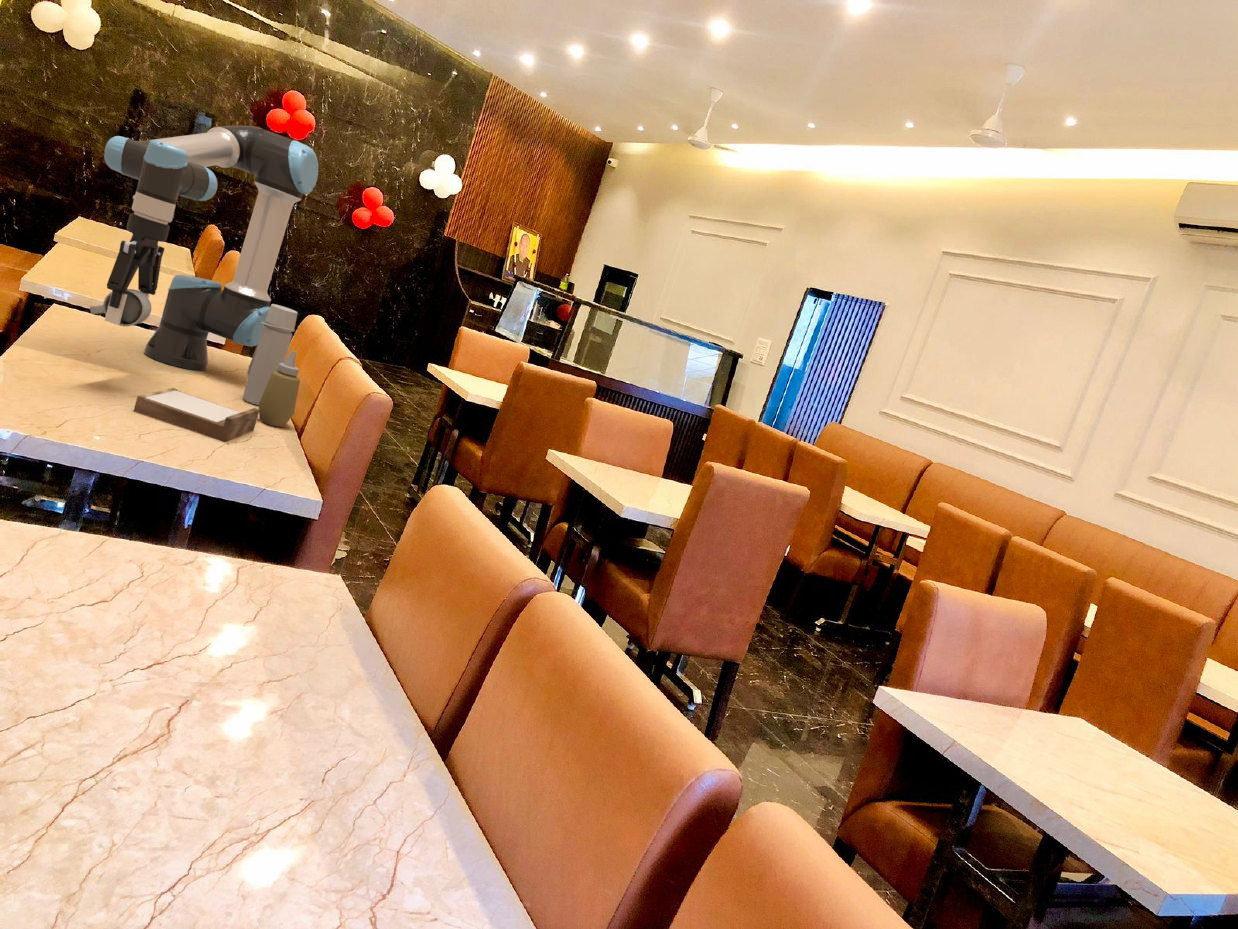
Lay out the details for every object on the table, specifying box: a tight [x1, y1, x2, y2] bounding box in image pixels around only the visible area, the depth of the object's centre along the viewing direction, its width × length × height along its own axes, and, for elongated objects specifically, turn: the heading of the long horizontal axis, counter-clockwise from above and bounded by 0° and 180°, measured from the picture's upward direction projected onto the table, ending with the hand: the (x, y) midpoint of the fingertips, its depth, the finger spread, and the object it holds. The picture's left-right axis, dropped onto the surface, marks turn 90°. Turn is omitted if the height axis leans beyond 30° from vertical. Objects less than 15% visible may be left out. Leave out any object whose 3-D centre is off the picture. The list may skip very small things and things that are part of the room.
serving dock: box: [133, 387, 260, 443], centre depth 188 cm, size 16×19×5 cm
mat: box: [145, 390, 241, 423], centre depth 187 cm, size 14×15×1 cm
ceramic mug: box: [89, 288, 152, 327], centre depth 185 cm, size 11×8×8 cm
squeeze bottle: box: [258, 350, 301, 428], centre depth 207 cm, size 8×8×18 cm
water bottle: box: [242, 303, 298, 406], centre depth 220 cm, size 9×8×25 cm
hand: (123, 321), depth 186 cm, fingers closed on ceramic mug, 9 cm apart
